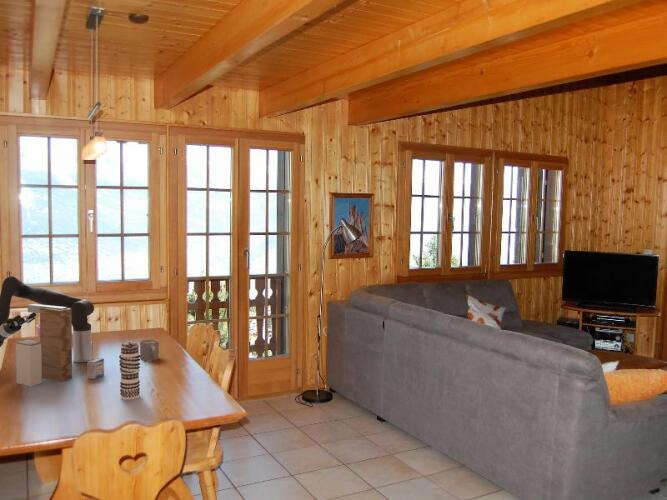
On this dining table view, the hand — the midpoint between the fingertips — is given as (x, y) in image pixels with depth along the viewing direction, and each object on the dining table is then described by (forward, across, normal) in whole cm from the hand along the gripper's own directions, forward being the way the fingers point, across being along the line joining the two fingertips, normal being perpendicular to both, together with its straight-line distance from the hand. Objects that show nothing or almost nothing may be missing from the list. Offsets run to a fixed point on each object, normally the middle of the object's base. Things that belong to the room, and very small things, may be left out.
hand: (27, 314), depth 308 cm
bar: (+14, 0, +5) cm, 15 cm away
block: (0, -12, +34) cm, 36 cm away
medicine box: (+16, +11, +44) cm, 48 cm away
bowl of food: (-50, +48, +5) cm, 69 cm away
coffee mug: (+15, +50, +43) cm, 68 cm away
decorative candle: (+48, -3, +62) cm, 78 cm away
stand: (+3, 0, +36) cm, 36 cm away
